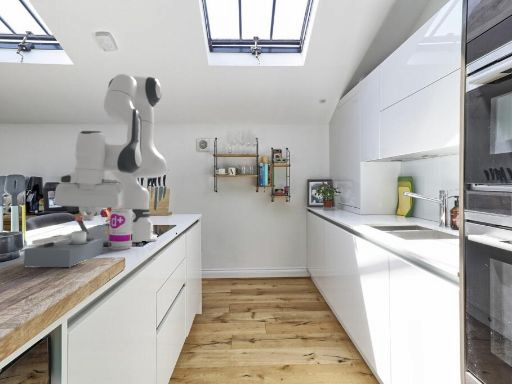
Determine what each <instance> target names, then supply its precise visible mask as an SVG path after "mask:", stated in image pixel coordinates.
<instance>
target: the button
mask: <svg viewBox="0 0 512 384" xmlns="http://www.w3.org/2000/svg"><path fill="white" fill-rule="evenodd" d="M86 237H87V235H86V232H85V231H82V230H76V231H73V232H71V237H70V238H71V244H73V245H81V244H86Z"/></svg>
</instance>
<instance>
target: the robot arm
mask: <svg viewBox="0 0 512 384" xmlns="http://www.w3.org/2000/svg"><path fill="white" fill-rule="evenodd" d="M107 87H108V89H107V91H106V94H105V96H104V101H103V108H104V111H105V114H107V116H108V117H109V118H111V120H113V121H115V122H117V123H119V124H122V125H125V126H127V130H126V132H127V133H126V142H125V143H123V144H108V142H106V137H105V133H104V132H102V131H100V130H82V131H80V132H79V133H78V134H77V138H76V143H75V152H74V156H75V161H76V162H75V166H74V172H72V173H71V172H70V173H67V174H63V175H60V176H58V178H57V183H59V184H57V185H56V188H55V192H54V199H53V200H54V203H55V205H56V206H57V207H59V206H60V207H78V210H79V212H80V214H81V217H82V221H83V222H84V221H85V222H87V221H88V222H93V221H95V220H94V217H95V215H96V213H97V212H98V211H99V209H98V208H109V209H119V208H120V207H121V206H122V208H121V209H132V211H133V232H132V243H143V242H142V241H146V242H155V241H157V240H156V239H157V238H158V237H157V236H158V234H154V233H155V230H154V224H153V222H152V220H151V218H150V217H151V209H150V192H149V190H148V189H147V188H146V187H144V186H142V185H141V184H140V183H139V181H138V180H139V178H141V179H155V178H160V177H161V178H162V176H163V177H164V175H165V174H166V171H167V168H168V167H167V166H168V164H167V161H166V159H165V157H164V156H163V155H162V154H160V152H159V151H158V150H157V148H156V146H155V142H154V131H155V129H154V126H155V112H154V111H155V110H154V107H155V106H156V104H158V102H160V100H161V97H162V94H163V89H162V85H161V83H160V80H158V78H155V77H151V76H147V77H146V76H139V75H134V76H131V75H128V74H125V73H119V74H117V75H115V76H114V77H113V78H111V80H110V81H109V83H108V86H107ZM106 172H109V173H110V174H111V175H112V176H113V177H114V178H115V179H105V178H106V177H105V175H106ZM121 192H122V193H121ZM87 207H88V208H90V211H91V212H90V214H87V212H86V210H87Z"/></svg>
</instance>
